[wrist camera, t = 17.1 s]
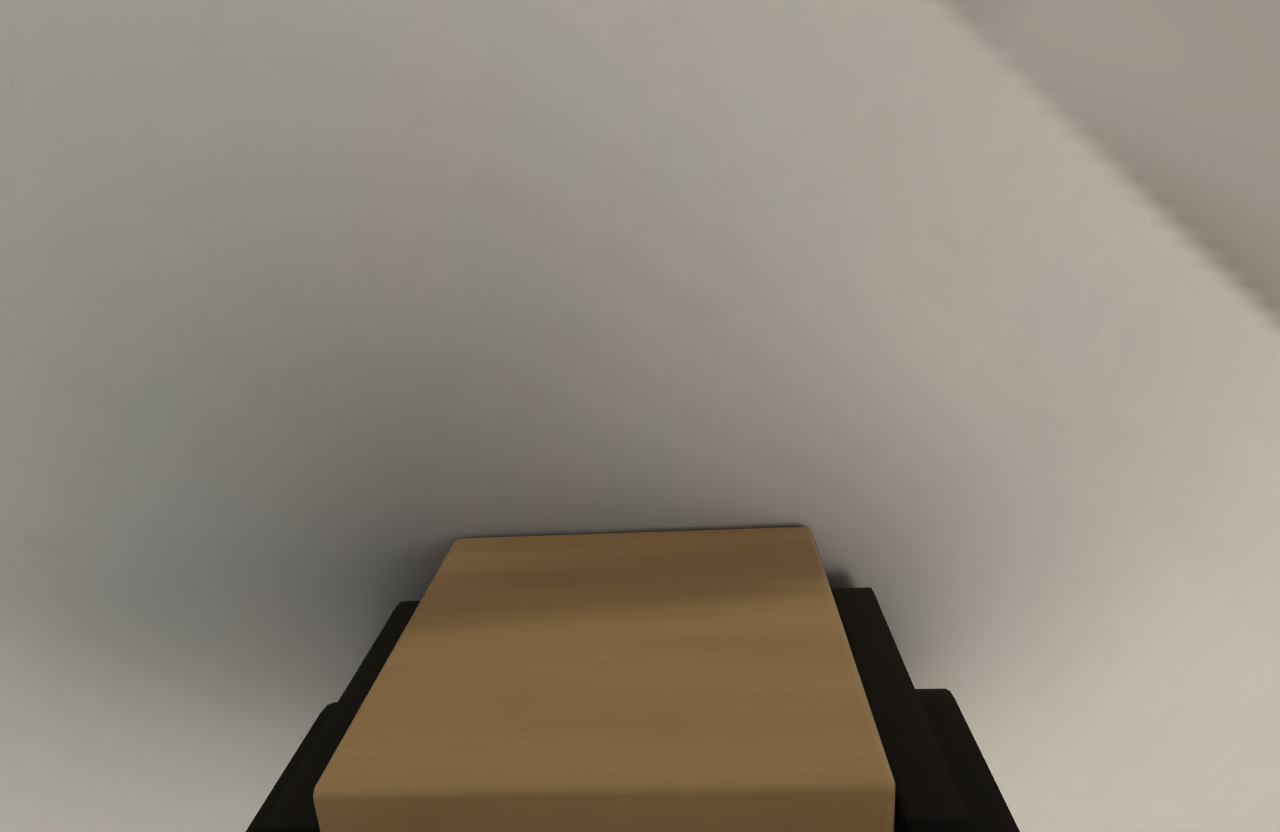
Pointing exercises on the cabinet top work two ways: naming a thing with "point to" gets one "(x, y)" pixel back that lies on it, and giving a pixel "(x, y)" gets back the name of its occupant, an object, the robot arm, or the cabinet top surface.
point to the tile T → (617, 695)
